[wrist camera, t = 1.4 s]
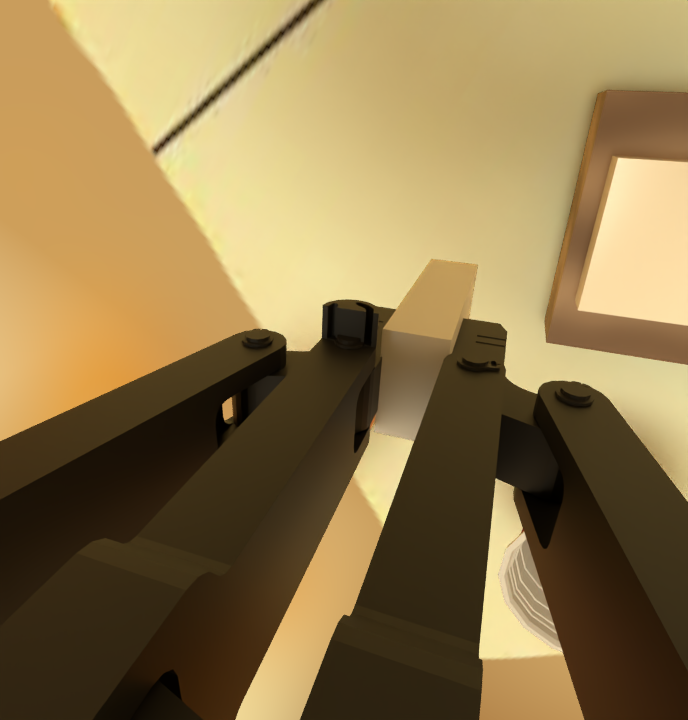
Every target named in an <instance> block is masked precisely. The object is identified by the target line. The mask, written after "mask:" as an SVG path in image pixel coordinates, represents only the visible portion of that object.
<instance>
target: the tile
mask: <svg viewBox="0 0 688 720" xmlns="http://www.w3.org/2000/svg"><path fill="white" fill-rule="evenodd" d="M575 301H576V305H577V309H578V310H579V311H586V312H593V313H600V314H607V315H615V316H622V317H629V318H636V319H643V320H650V321H657V322H665V323H672V324H679V325H686V326H688V160H678V159H662V158H646V157H630V156H614V155H612V159H611V163H610V166H609V170H608V174H607V178H606V182H605V186H604V190H603V193H602V197H601V201H600V205H599V209H598V213H597V217H596V220H595V224H594V228H593V232H592V236H591V240H590V244H589V247H588V251H587V255H586V259H585V263H584V267H583V271H582V274H581V278H580V282H579V286H578V290H577V294H576V298H575Z"/></svg>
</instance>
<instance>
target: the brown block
mask: <svg viewBox="0 0 688 720" xmlns="http://www.w3.org/2000/svg"><path fill="white" fill-rule="evenodd" d="M612 155H614V156H630V157H646V158H662V159H678V160H688V93H681V92H649V91H618V90H607V91H604V92H601V93H598V96H597V100H596V104H595V108H594V113H593V117H592V121H591V125H590V130H589V134H588V138H587V142H586V147H585V151H584V155H583V159H582V164H581V168H580V172H579V176H578V181H577V185H576V189H575V193H574V198H573V202H572V206H571V210H570V215H569V219H568V223H567V227H566V231H565V236H564V240H563V244H562V248H561V253H560V257H559V261H558V265H557V270H556V274H555V278H554V282H553V287H552V291H551V295H550V299H549V304H548V308H547V312H546V316H545V333H546V342H547V343H553V344H559V345H566V346H572V347H578V348H585V349H591V350H597V351H604V352H610V353H616V354H623V355H629V356H635V357H642V358H648V359H654V360H661V361H667V362H673V363H680V364H686V365H688V326H686V325H679V324H672V323H665V322H657V321H650V320H643V319H636V318H629V317H622V316H615V315H607V314H600V313H593V312H586V311H579V310H578V309H577V305H576V301H575V298H576V294H577V290H578V286H579V282H580V278H581V274H582V271H583V267H584V263H585V259H586V255H587V251H588V247H589V244H590V240H591V236H592V232H593V228H594V224H595V220H596V217H597V213H598V209H599V205H600V201H601V197H602V193H603V190H604V186H605V182H606V178H607V174H608V170H609V166H610V163H611V159H612Z"/></svg>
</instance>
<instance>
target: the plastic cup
mask: <svg viewBox="0 0 688 720" xmlns="http://www.w3.org/2000/svg"><path fill="white" fill-rule="evenodd" d="M498 576H499V581H500V585H501V589H502V594H503V598H504V602H505V603H506V605H507V606H508V607H509V609H510V610H511V612H512V613H513V614H514V616H515V617H516V618H517V620H518V621H519V622H520V624H521V625H522V626H523V628H525V629H526V630H527V631H529V632H530V633H532V634H533V635H534V636H536V637H537V638H538V639H540V640H541V641H543V642H544V643H545V644H547V645H548V646H549V647H551V648H552V649H555V650H557V651H560V652H562V653H563V651H562V648H561V645H560V642H559V639H558V635H557V632H556V629H555V626H554V623H553V620H552V617H551V614H550V611H549V607H548V604H547V601H546V598H545V595H544V592H543V589H542V586H541V583H540V579H539V576H538V573H537V570H536V567H535V564H534V561H533V558H532V555H531V551H530V548H529V545H528V542H527V539H526V536H525V533H524V530H522V532H521V534H520V535H519V536H518V537H517V538H516V539H515V540H514V541H513V542H512V543H511V544H509V545H508V547H507V548H506V550H505V553H504V557H503V560H502V563H501V567H500V570H499V573H498Z"/></svg>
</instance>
